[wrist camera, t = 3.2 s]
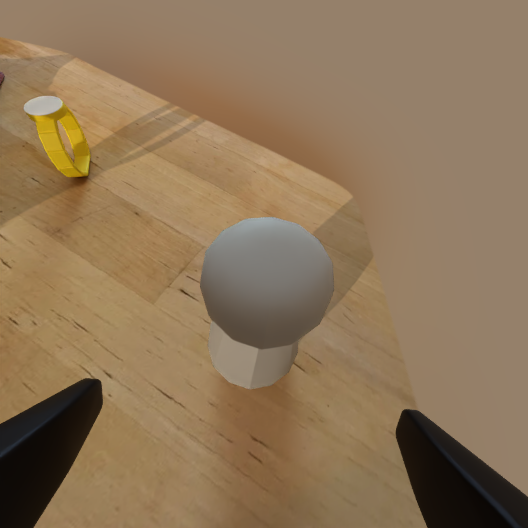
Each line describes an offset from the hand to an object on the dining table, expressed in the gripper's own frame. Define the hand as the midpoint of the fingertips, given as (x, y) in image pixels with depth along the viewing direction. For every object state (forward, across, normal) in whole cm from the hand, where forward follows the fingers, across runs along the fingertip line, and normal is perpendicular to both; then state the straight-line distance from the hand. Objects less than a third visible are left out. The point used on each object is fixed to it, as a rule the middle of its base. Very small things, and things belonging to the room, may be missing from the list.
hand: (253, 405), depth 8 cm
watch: (+21, +18, -6) cm, 29 cm away
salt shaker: (+10, 0, +5) cm, 12 cm away
